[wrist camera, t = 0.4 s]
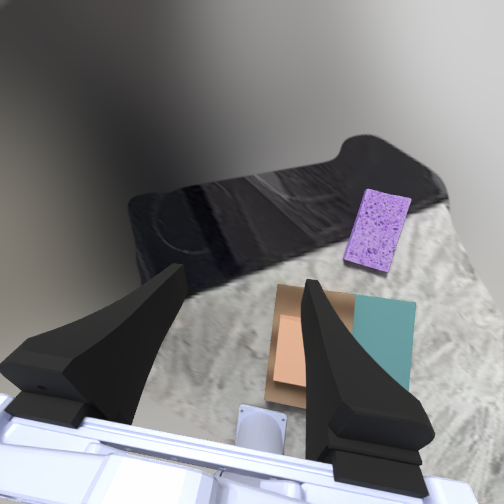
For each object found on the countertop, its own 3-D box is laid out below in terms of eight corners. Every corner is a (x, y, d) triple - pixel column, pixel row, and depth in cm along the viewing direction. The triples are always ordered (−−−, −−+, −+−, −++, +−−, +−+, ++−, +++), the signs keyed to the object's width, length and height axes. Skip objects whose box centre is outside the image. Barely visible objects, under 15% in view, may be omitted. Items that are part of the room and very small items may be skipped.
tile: (312, 379, 34) (315, 388, 31) (273, 372, 35) (273, 380, 32) (319, 320, 34) (321, 324, 32) (280, 314, 35) (280, 318, 33)
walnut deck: (338, 404, 36) (343, 416, 33) (265, 389, 38) (264, 400, 35) (349, 293, 37) (355, 296, 34) (277, 284, 38) (277, 285, 35)
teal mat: (404, 417, 34) (406, 419, 34) (340, 404, 36) (340, 405, 35) (414, 302, 35) (416, 302, 35) (351, 293, 37) (352, 294, 36)
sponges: (341, 259, 38) (344, 259, 36) (363, 190, 38) (368, 186, 36) (383, 272, 37) (388, 273, 35) (406, 201, 37) (412, 198, 35)
